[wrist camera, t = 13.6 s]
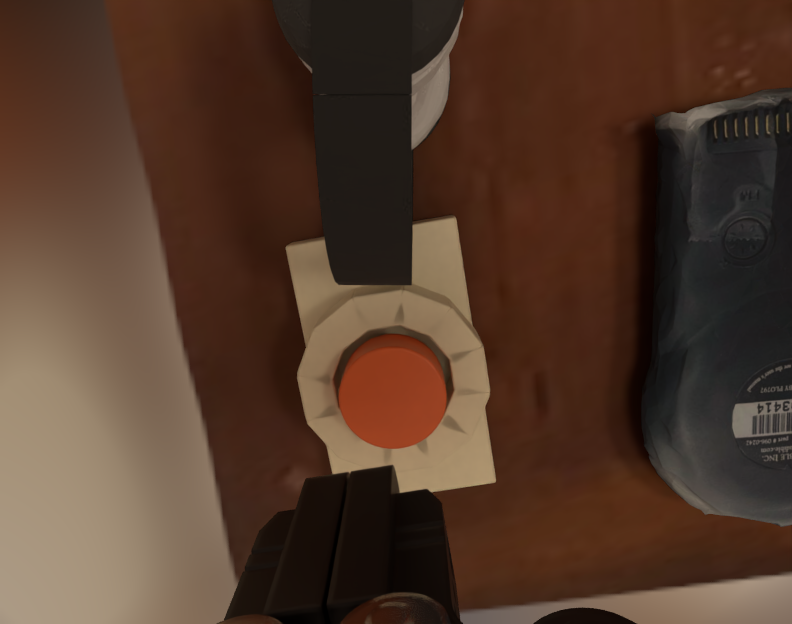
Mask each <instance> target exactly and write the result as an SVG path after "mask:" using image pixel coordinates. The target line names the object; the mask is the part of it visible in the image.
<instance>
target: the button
mask: <svg viewBox="0 0 792 624" xmlns="http://www.w3.org/2000/svg"><path fill="white" fill-rule="evenodd" d="M446 404H447V392H446V385H445V380H444V374H443V370H442V367H441V364H440V362H439V360H438V358H437V357H436V355H435V354H434V352H433V351H432V350H431V349H430V348H429V347H428V346H427V345H425V344H424V343H423V342H421V341H419V340H418V339H415V338H413V337H410V336H407V335H402V334H384V335H380V336H377V337H374V338H371V339H370V340H368V341H366V342H364V343H363V344H362V345H360V346H359V347H358V348H357V349H356V350H355V351H354V353H353V354H352V355H351V357H350V358H349V360H348V362H347V365H346V367H345V371H344V374H343V377H342V380H341V384H340V388H339V407H340V410H341V414H342V416H343V418H344V420H345V422H346V424H347V425H348V427H349V428H350V429H351V431H352V432H353V433H354V434H356V435H357V436H358V437H359V438H361V439H362V440H364V441H365V442H367V443H369V444H371V445H374V446H377V447H381V448H387V449H399V448H405V447H409V446H412V445H415V444H417V443H419V442H421V441H423V440H424V439H426V438H427V437H428V436H429V435H430V434H432V433H433V431H434V430H435V429H436V428H437V427H438V425H439V424H440V422H441V420H442V418H443V416H444V413H445V409H446Z"/></svg>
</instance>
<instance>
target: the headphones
mask: <svg viewBox="0 0 792 624" xmlns="http://www.w3.org/2000/svg"><path fill="white" fill-rule="evenodd" d="M272 3H273V7H274V11H275V14H276V17H277V20H278V22H279V25H280V27H281V29H282V32H283V34H284V36H285V39H286V40H287V42H288V43H289V45H290V46H291V47H292V49H293V50H294V51H295V53H296V54H297V55H298V57H299V58H300V59H301V60H302V62H303V63H304V65H305V66H306V67H307V68H308V69H309V70H310V72H311V73H312V87H313V94H319V95H313V112H314V132H315V148H316V164H317V176H318V187H319V199H320V207H321V216H322V225H323V232H324V238H325V245H326V251H327V256H328V260H329V265H330V269H331V272H332V275H333V278H334V281H335V282H336V283H337V284H338V285H412V236H413V149H414V148H416V147H417V146H419V145H420V144H421V143H422V142H423V141H424V140H425V139H426V138H427V137H428V136H429V135H430V134H431V133H432V131H433V130H434V128H435V127H436V125H437V124H438V122H439V120H440V118H441V115H442V113H443V111H444V109H445V105H446V101H447V97H448V94H449V85H450V63H449V53H450V52H451V50H452V48H453V46H454V44H455V42H456V39H457V37H458V31H459V25H460V21H461V19H462V15H463V4H464V0H272Z"/></svg>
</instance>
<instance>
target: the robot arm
mask: <svg viewBox="0 0 792 624" xmlns="http://www.w3.org/2000/svg"><path fill="white" fill-rule="evenodd" d="M217 624H463V623H462V622H461V621H460V614H459V607H458V597H457V589H456V581H455V576H454V570H453V565H452V559H451V554H450V548H449V542H448V537H447V531H446V526H445V520H444V514H443V509H442V503H441V502H440V501H439V500H438V499H437V498H436V497H435V496H434V495H433V494H432V493H431V492H430V491H429V490H428V489H422V490H415V491H409V492H403V493H400V490H399V485H398V480H397V475H396V471H395V468H394V465H387V466H381V467H374V468H368V469H362V470H356V471H351V472H350V473H349V472H344V473H337V474H331V475H325V476H318V477H312V478H306V479H305V482H304V485H303V488H302V491H301V494H300V497H299V500H298V504H297V507H296V509H294V510H288V511H282V512H278V513H277V514H276V515H275V516H274V517H273V518H272V519H271V520H270V521H269V522H268V523H267V524H266V525H265V526H264V527H263V528H262V529H261V530H260V531H259V533H258V535H257V538H256V540H255V543H254V546H253V548H252V554H251V555H250V556H249V558H248V561H247V563H246V566H245V572H243V573H242V576H241V578H240V581H239V583H238V586H237V588H236V591H235V593H234V596H233V598H232V601H231V603H230V606H229V609H228V611H227V614H226V616H225V618H224V621H222V622H219V623H217ZM534 624H636V623H634V622H633V621H630V620H628V619H626V618H624V617H622V616H620V615H618V614H615V613H612V612H608V611H605V610H600V609H594V608H571V609H565V610H560V611H557V612H554V613H551V614H549V615H547V616H544V617H542V618H541V619H539V620H538V621H536V622H535V623H534Z"/></svg>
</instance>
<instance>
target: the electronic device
mask: <svg viewBox="0 0 792 624" xmlns="http://www.w3.org/2000/svg"><path fill="white" fill-rule="evenodd" d="M652 115H653V114H652ZM653 116H654V115H653ZM654 118H655V130H656V134H657V136H658V159H657V161H658V162H657V172H658V183H657V191H656V201H657V204H656V232H655V237H654V238H655V247H656V248H655V254H654V262H655V276H654V294H653V330H652V356H651V364H650V367H649V369H648V371H647V375H646V380H645V383H644V385H643V387H642V403H641V426H642V432H643V437H644V447H645V448H646V450H647V451H648V453H649V459H650V460H651V464H652V465H653V466H654V467H655V469H656V472H657V474H658V475H659V476H660V477H661V478H662V479H663V480H664V481H665V482H666V483H667V485H668V486H669V487H670V488H671V489H672V490H673V491H674V492H675V493H677V494H678V495H679V496H681V497H682V498H683V499H684V500H685V501H686V502H687V503H689V504H690V505H692V506H693V507H695V508H698V509H700V510H702V511H703V512H704V514H716V515H724V516H735V517H742V518H747V519H751V520H757V521H763V522H769V523H772V524H776V525H779V526H781V527H782V526H789V525H792V88H781V89H769V90H761V91H758V92H756V93H753V94H751V95H748V96H745V97H742V98H737V99H732V100H727V101H722V102H717V103H712V104H708V105H704V106H700V107H695V108H692V109H691V110H689V111H687V112H686V113H675V112H669V113H666V114H663V115H661V116H658V117H655V116H654Z"/></svg>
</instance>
